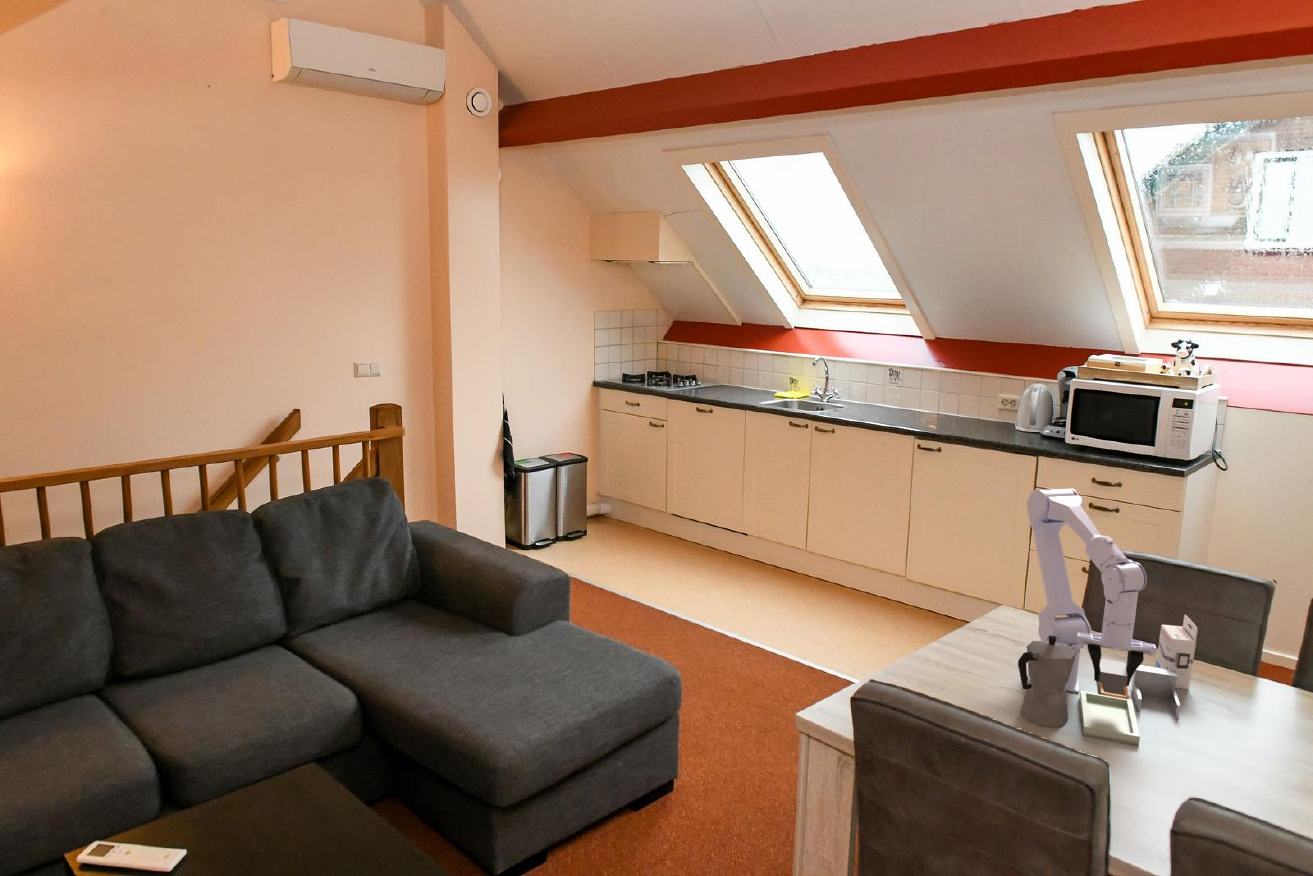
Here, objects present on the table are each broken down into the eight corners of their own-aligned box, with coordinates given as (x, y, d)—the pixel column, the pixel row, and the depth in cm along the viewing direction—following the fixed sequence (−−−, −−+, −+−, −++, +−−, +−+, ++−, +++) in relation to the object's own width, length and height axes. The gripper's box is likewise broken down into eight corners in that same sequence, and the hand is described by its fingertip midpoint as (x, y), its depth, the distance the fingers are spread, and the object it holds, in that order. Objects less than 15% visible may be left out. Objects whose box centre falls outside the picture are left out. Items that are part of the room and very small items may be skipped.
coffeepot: (1048, 700, 201) (1057, 622, 198) (1085, 720, 193) (1094, 639, 189) (995, 715, 195) (1003, 634, 191) (1031, 736, 186) (1040, 652, 183)
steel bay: (1136, 711, 197) (1139, 685, 196) (1131, 689, 207) (1134, 664, 206) (1179, 719, 194) (1182, 692, 193) (1171, 696, 204) (1175, 670, 203)
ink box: (1153, 671, 217) (1162, 611, 214) (1176, 673, 216) (1185, 613, 213) (1165, 687, 209) (1174, 625, 206) (1189, 690, 208) (1198, 628, 205)
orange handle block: (1099, 705, 187) (1102, 682, 186) (1095, 680, 198) (1098, 658, 197) (1127, 710, 185) (1130, 686, 184) (1122, 684, 196) (1124, 662, 195)
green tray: (1083, 735, 187) (1084, 726, 187) (1079, 698, 202) (1080, 690, 202) (1138, 746, 183) (1140, 736, 183) (1130, 707, 199) (1131, 699, 198)
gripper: (1081, 621, 190) (1073, 683, 193) (1160, 633, 185) (1152, 696, 187) (1079, 609, 196) (1072, 669, 199) (1156, 620, 191) (1148, 681, 194)
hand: (1111, 681), depth 194 cm, fingers closed on orange handle block, 5 cm apart
